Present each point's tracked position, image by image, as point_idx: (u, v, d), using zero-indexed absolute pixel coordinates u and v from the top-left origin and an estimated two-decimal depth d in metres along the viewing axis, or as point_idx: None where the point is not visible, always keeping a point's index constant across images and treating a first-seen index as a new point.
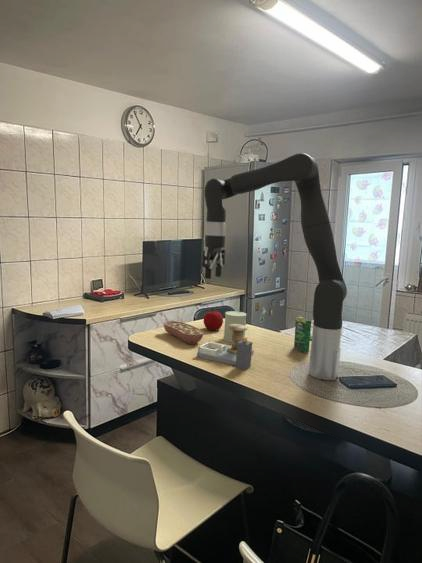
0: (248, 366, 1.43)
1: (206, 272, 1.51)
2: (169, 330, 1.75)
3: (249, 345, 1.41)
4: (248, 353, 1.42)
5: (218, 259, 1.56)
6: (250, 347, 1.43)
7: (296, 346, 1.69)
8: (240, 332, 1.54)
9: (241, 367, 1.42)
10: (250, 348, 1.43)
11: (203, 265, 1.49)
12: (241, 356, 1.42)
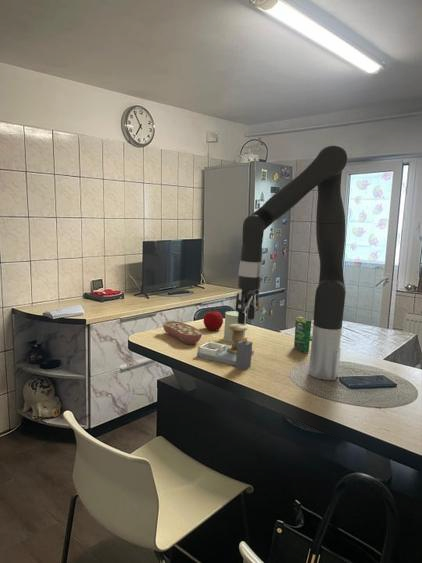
0: (248, 366, 1.43)
1: (239, 317, 1.37)
2: (168, 330, 1.75)
3: (249, 345, 1.41)
4: (248, 353, 1.42)
5: (252, 301, 1.42)
6: (250, 347, 1.43)
7: (296, 346, 1.69)
8: (240, 332, 1.54)
9: (241, 367, 1.42)
10: (250, 348, 1.43)
11: (237, 310, 1.35)
12: (241, 356, 1.42)
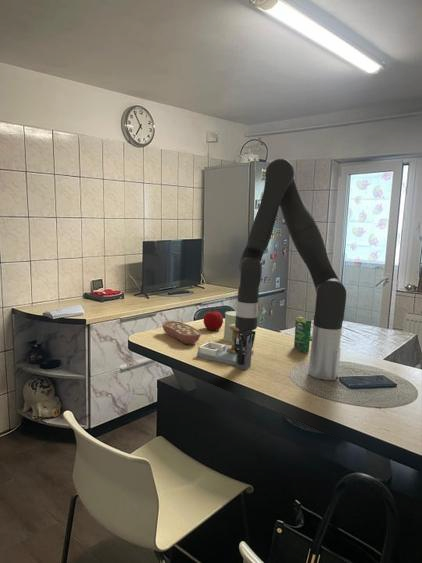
0: (248, 366, 1.43)
1: (239, 358, 1.40)
2: (167, 330, 1.75)
3: (249, 345, 1.41)
4: (248, 353, 1.42)
5: (248, 340, 1.43)
6: (250, 347, 1.42)
7: (296, 346, 1.69)
8: None
9: (241, 367, 1.42)
10: (250, 348, 1.43)
11: (236, 352, 1.39)
12: None
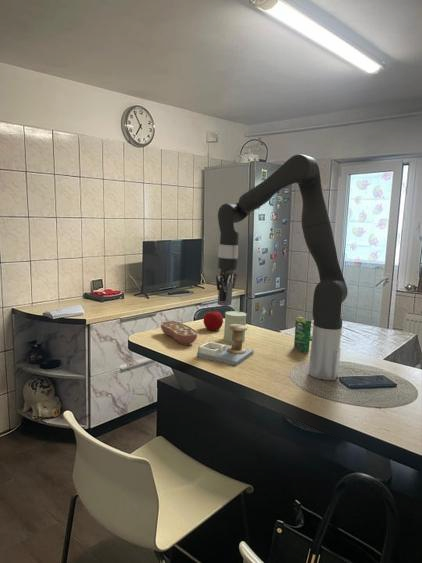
0: (229, 303, 1.61)
1: (221, 295, 1.58)
2: (165, 330, 1.74)
3: (230, 284, 1.59)
4: (229, 291, 1.59)
5: (229, 280, 1.60)
6: (231, 286, 1.60)
7: (296, 346, 1.69)
8: (240, 332, 1.54)
9: (222, 304, 1.60)
10: (231, 287, 1.60)
11: (218, 289, 1.56)
12: None
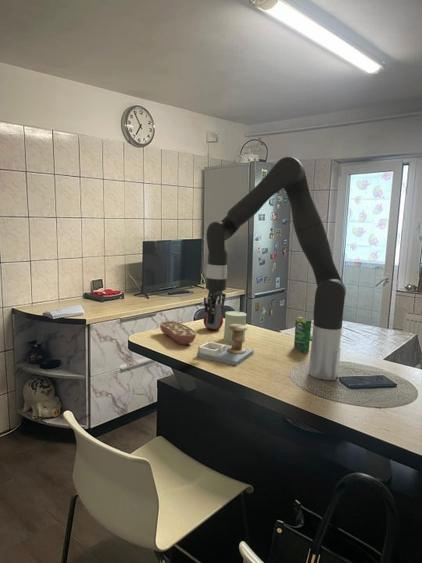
0: (217, 325, 1.53)
1: (209, 317, 1.50)
2: (164, 330, 1.74)
3: (218, 305, 1.51)
4: (218, 313, 1.51)
5: (218, 301, 1.52)
6: (219, 307, 1.52)
7: (296, 346, 1.69)
8: (240, 332, 1.54)
9: (211, 326, 1.52)
10: (219, 309, 1.52)
11: (206, 311, 1.48)
12: None
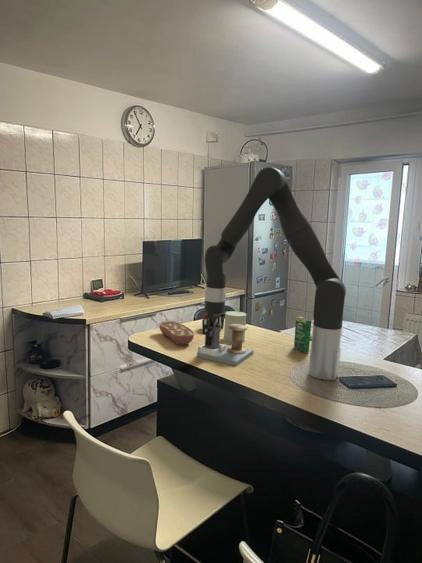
0: None
1: (206, 339, 1.50)
2: (163, 330, 1.74)
3: (217, 330, 1.52)
4: (216, 338, 1.53)
5: (217, 323, 1.54)
6: (218, 332, 1.53)
7: (296, 346, 1.69)
8: (240, 332, 1.54)
9: None
10: (218, 333, 1.54)
11: (203, 333, 1.49)
12: None
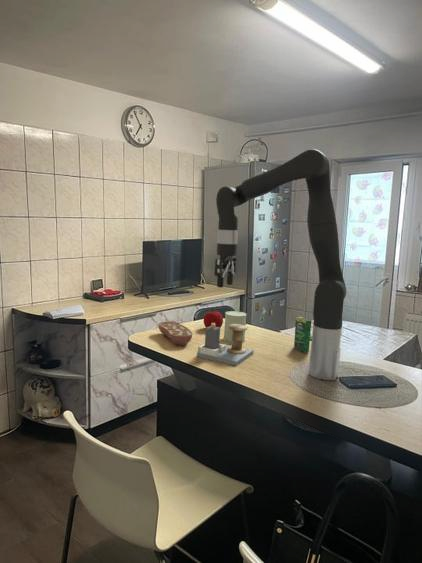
0: None
1: (218, 281, 1.49)
2: (162, 330, 1.74)
3: (217, 330, 1.52)
4: (216, 338, 1.53)
5: (230, 267, 1.54)
6: (218, 332, 1.53)
7: (296, 346, 1.69)
8: (240, 332, 1.54)
9: None
10: (218, 333, 1.54)
11: (215, 274, 1.48)
12: (209, 340, 1.52)
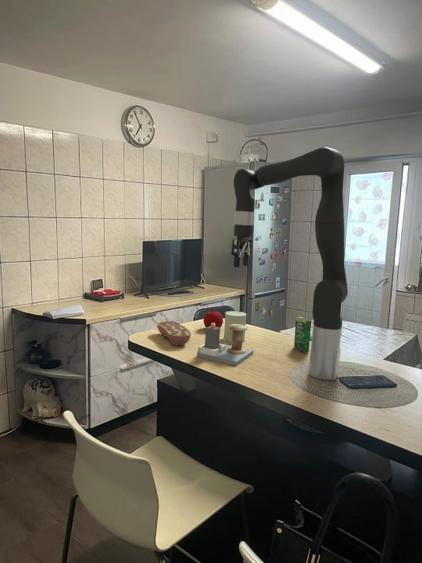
0: None
1: (235, 261, 1.54)
2: (161, 330, 1.74)
3: (217, 330, 1.52)
4: (216, 338, 1.53)
5: (246, 248, 1.59)
6: (218, 332, 1.53)
7: (296, 346, 1.69)
8: (240, 332, 1.54)
9: None
10: (218, 333, 1.54)
11: (232, 254, 1.52)
12: (209, 340, 1.52)
